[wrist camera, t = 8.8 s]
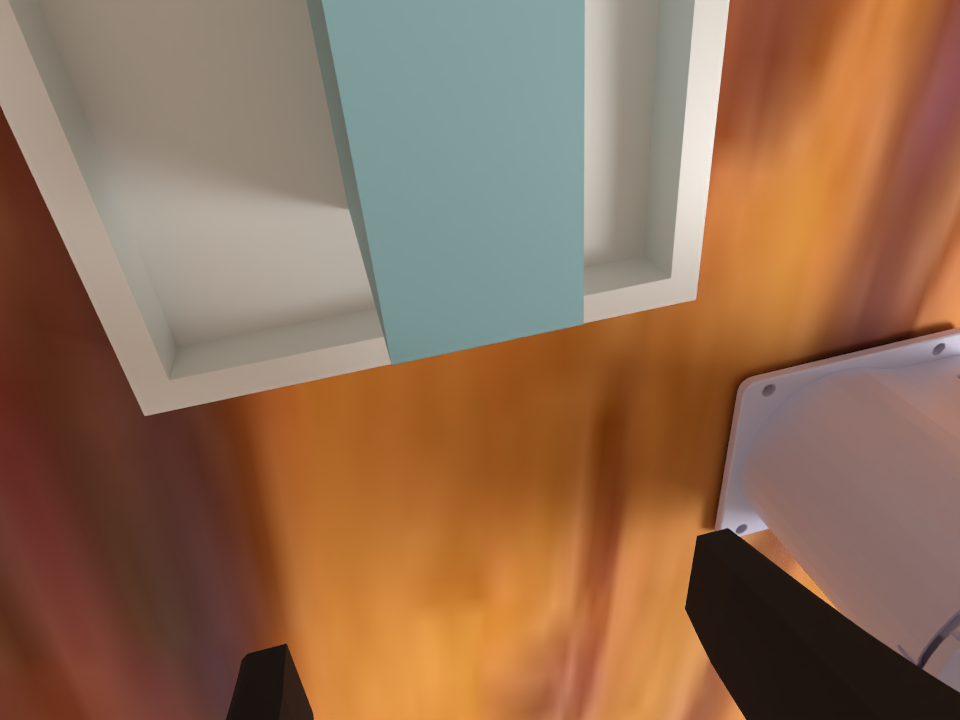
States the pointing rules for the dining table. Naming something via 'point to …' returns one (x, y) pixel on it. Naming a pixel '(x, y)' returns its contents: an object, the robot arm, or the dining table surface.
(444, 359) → the dining table surface
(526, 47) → the teal block
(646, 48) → the tray
